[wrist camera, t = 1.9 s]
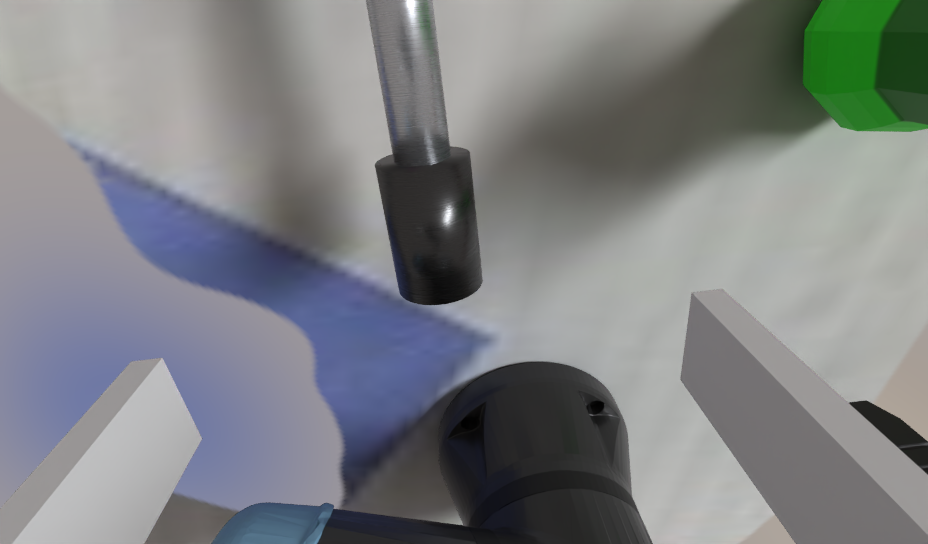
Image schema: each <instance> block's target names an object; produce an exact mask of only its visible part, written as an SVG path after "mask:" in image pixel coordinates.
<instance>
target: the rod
mask: <svg viewBox="0 0 928 544" xmlns="http://www.w3.org/2000/svg"><path fill="white" fill-rule="evenodd" d="M366 4H367V10H368V15H369V21H370V27H371V33H372V38H373V44H374V50H375V56H376V61H377V67H378V73H379V79H380V84H381V90H382V96H383V101H384V107H385V113H386V119H387V124H388V130H389V136H390V142H391V147H392V153H393V154H392V155H389V156H386V157H384V158H382V159H380V160H379V161H377V162H376V164H375V168H376V173H377V178H378V183H379V189H380V194H381V199H382V204H383V209H384V215H385V220H386V225H387V230H388V235H389V240H390V246H391V251H392V256H393V261H394V266H395V271H396V277H397V282H398V287H399V292H400V294H401V296H402V297H403V298H405V299H406V300H408V301H410V302H413V303H417V304H422V305H441V304H448V303H452V302H456V301H459V300H461V299H464V298H466V297H468V296H470V295H472V294H473V293H474V292H476V291H477V290H478V289H479V288H480V286H481V284H482V281H483V280H482V269H481V259H480V249H479V239H478V229H477V220H476V210H475V200H474V190H473V180H472V170H471V160H470V152H469V151H468V150H466V149H463V148H459V147H450V143H449V135H448V126H447V118H446V110H445V101H444V93H443V84H442V76H441V68H440V59H439V51H438V42H437V34H436V26H435V17H434V9H433V0H366Z"/></svg>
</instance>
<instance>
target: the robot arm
mask: <svg viewBox="0 0 928 544" xmlns="http://www.w3.org/2000/svg"><path fill="white" fill-rule="evenodd" d="M680 380H681V381H682V383H683V384H684V385H685V387H686V388H687V390H688V391H689V392H690V394H691V395H692V397H693V398H694V400H695V401H696V402H697V404H698V405H699V407H700V408H701V410H702V411H703V412H704V414H705V415H706V417H707V418H708V420H709V421H710V422H711V424H712V425H713V427H714V428H715V429H716V431H717V432H718V434H719V435H720V437H721V438H722V439H723V441H724V442H725V444H726V445H727V447H728V448H729V449H730V451H731V452H732V454H733V455H734V457H735V458H736V459H737V461H738V462H739V464H740V465H741V466H742V468H743V469H744V471H745V472H746V474H747V475H748V476H749V478H750V479H751V481H752V482H753V484H754V485H755V486H756V488H757V489H758V491H759V492H760V494H761V495H762V496H763V498H764V499H765V501H766V502H767V503H768V505H769V506H770V508H771V509H772V511H773V512H774V513H775V515H776V516H777V518H778V519H779V521H780V522H781V523H782V525H783V526H784V527H785V529H786V530H787V532H788V533H789V535H790V536H791V538H792V539H793V540H794V542H795V543H796V544H928V441H926V440H925V439H924V438H923V437H922V436H920V435H919V434H918V433H917V432H916V431H914V430H913V429H912V428H910V426H908V425H907V424H906V423H905V422H904V421H902V420H901V419H900V418H898V417H896V416H894V415H893V414H890V413H888V412H887V411H885V410H883V409H881V408H879V407H877V406H876V405H874V404H872V403H870V402H868V401H858V402H850V403H848V402H847V401H846V400H845V399H844V398H842V397H841V396H840V395H839V394H838V393H837V392H836V391H835V390H834V389H832V388H831V387H830V386H829V385H828V384H827V383H826V382H825V381H824V380H823V379H821V378H820V377H819V376H818V375H817V374H816V373H815V372H814V371H813V370H812V369H810V368H809V367H808V366H807V365H806V364H805V363H804V362H803V361H802V360H800V359H799V358H798V357H797V356H796V355H795V354H794V353H793V352H792V351H791V350H789V349H788V348H787V347H786V346H785V345H784V344H783V343H782V342H781V341H779V340H778V339H777V338H776V337H775V336H774V335H773V334H772V333H771V332H770V331H768V330H767V329H766V328H765V327H764V326H763V325H762V324H761V323H760V322H759V321H757V320H756V319H755V318H754V317H753V316H752V315H751V314H750V313H749V312H747V311H746V310H745V309H744V308H743V307H742V306H741V305H740V304H739V303H738V302H736V301H735V300H734V299H733V298H732V297H731V296H730V295H729V294H728V293H727V292H725V291H724V290H723V289H717V290H709V291H701V292H693V293H692V294H691V302H690V310H689V317H688V325H687V333H686V340H685V348H684V356H683V363H682V371H681V379H680ZM201 440H202V437H201V435H200V433H199V431H198V429H197V428H196V425H195V423H194V421H193V419H192V417H191V415H190V413H189V411H188V409H187V407H186V405H185V403H184V401H183V399H182V397H181V395H180V393H179V391H178V389H177V387H176V385H175V383H174V381H173V379H172V377H171V375H170V373H169V370H168V369H167V366H166V364H165V362H164V361H163V359H162V358H157V359H149V360H140V361H133V362H130V364H129V365H128V366H127V367H126V368H125V369H124V370H123V371H122V372H121V374H120V375H119V376H118V377H117V378H116V379H115V380H114V381H113V383H112V384H111V385H110V386H109V387H108V388H107V389H106V390H105V392H104V393H103V394H102V395H101V396H100V397H99V398H98V400H97V401H96V402H95V403H94V404H93V405H92V406H91V407H90V409H89V410H88V411H87V412H86V413H85V414H84V415H83V416H82V417H81V419H80V420H79V421H78V422H77V423H76V424H75V425H74V426H73V428H72V429H71V430H70V431H69V432H68V433H67V434H66V436H65V437H64V438H63V439H62V440H61V441H60V442H59V443H58V444H57V446H56V447H55V448H54V449H53V450H52V451H51V452H50V453H49V454H48V456H47V457H46V458H45V459H44V460H43V461H42V462H41V463H40V465H39V466H38V467H37V468H36V469H35V470H34V471H33V473H32V474H31V475H30V476H29V477H28V478H27V479H26V480H25V481H24V483H23V484H22V485H21V486H20V487H19V488H18V489H17V491H15V493H14V494H13V495H12V496H11V497H10V498H9V499H8V501H7V502H6V503H5V504H4V505H3V506H2V507H1V508H0V544H144V543H145V542H146V540H147V538H148V536H149V534H150V533H151V531H152V529H153V527H154V525H155V523H156V522H157V520H158V518H159V516H160V514H161V513H162V511H163V509H164V507H165V505H166V504H167V502H168V500H169V498H170V496H171V495H172V493H173V491H174V489H175V487H176V485H177V484H178V482H179V480H180V478H181V476H182V474H183V473H184V471H185V469H186V467H187V466H188V464H189V462H190V460H191V458H192V457H193V455H194V453H195V451H196V449H197V448H198V446H199V444H200V442H201ZM438 443H439V464H440V469H441V473H442V476H443V479H444V481H445V483H446V486H447V488H448V490H449V493H450V495H451V497H452V500H453V502H454V504H455V506H456V509H457V511H458V513H459V516H460V518H461V520H462V523H463V525H464V526H463V525H456V524H448V523H440V522H432V521H424V520H416V519H408V518H401V517H393V516H385V515H377V514H369V513H361V512H353V511H346V510H338V509H333V508H334V506H333V505H332V504H329V503H324V504H322V505H321V506H308V505H294V504H281V503H258V504H254V505H251V506H249V507H247V508H245V509H243V510H242V511H240V512H238V513H237V514H236V515H235V516H234V517H232V518H231V519H230V520H229V521H228V522H227V523H226V524H225V525H224V527H223V528H222V529H221V531H220V532H219V533H218V535H217V536H216V537H215V539H214V540H213V542H212V543H211V544H653V543H652V541H651V538H650V536H649V534H648V532H647V529H646V527H645V525H644V523H643V521H642V519H641V516H640V514H639V512H638V509H637V507H636V505H635V502H634V500H633V498H632V490H631V475H630V459H629V444H628V433H627V428H626V425H625V422H624V419H623V417H622V414H621V412H620V410H619V408H618V406H617V404H616V402H615V400H614V398H613V397H612V395H611V393H610V392H609V391H608V389H607V388H606V387H605V386H604V385H603V384H602V383H601V382H600V381H598V380H597V379H596V378H594V377H593V376H591V375H590V374H588V373H586V372H584V371H582V370H579V369H577V368H574V367H571V366H567V365H563V364H557V363H548V362H532V363H523V364H517V365H512V366H508V367H505V368H501V369H499V370H496V371H493V372H491V373H489V374H487V375H485V376H483V377H481V378H479V379H477V380H476V381H474V382H473V383H471V384H470V385H469V386H467V387H466V388H465V389H464V390H462V391H461V392H460V393H459V394H458V395H457V396H456V397H455V399H454V400H453V401H452V402H451V404H450V405H449V406H448V408H447V410H446V411H445V413H444V416H443V418H442V421H441V424H440V428H439V435H438Z"/></svg>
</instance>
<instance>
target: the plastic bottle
mask: <svg viewBox="0 0 928 544" xmlns="http://www.w3.org/2000/svg"><path fill="white" fill-rule="evenodd" d="M803 85H804V87H805V88H806V89H807V90H808V91H809V92H810V93H811V94H812V96H813V97H814V98H815V99H816V100H817V101H818V102H819V103H820V104H821V106H822V107H823V108H824V109H825V110H826V111H827V112H828V113H829V115H830V116H831V117H832V118H833V119H834V120H835V121H836V122H837V123H838V125H839V126H840V127H843V128H847V129H851V130H855V131H900V132H912V131H917V130H923V129H928V0H822V2H821V4H820V5H819V7H818V9H817V10H816V12H815V14H814V16H813V17H812V19H811V21H810V22H809V24H808V26H807V28H806V29H805V31H804V63H803Z"/></svg>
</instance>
